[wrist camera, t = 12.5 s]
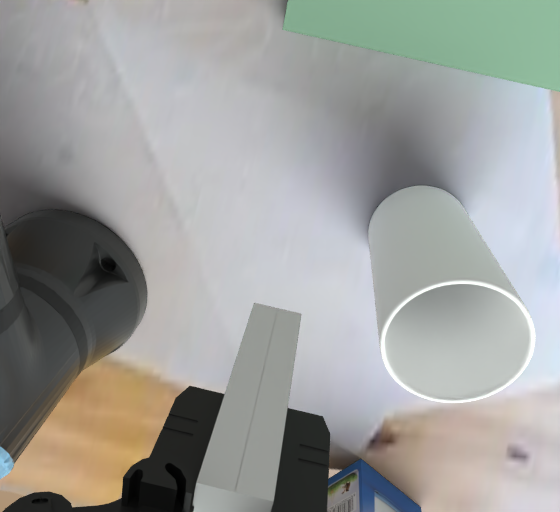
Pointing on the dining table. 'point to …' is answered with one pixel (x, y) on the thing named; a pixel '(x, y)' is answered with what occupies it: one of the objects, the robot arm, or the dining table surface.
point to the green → (445, 33)
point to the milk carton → (365, 492)
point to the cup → (443, 300)
